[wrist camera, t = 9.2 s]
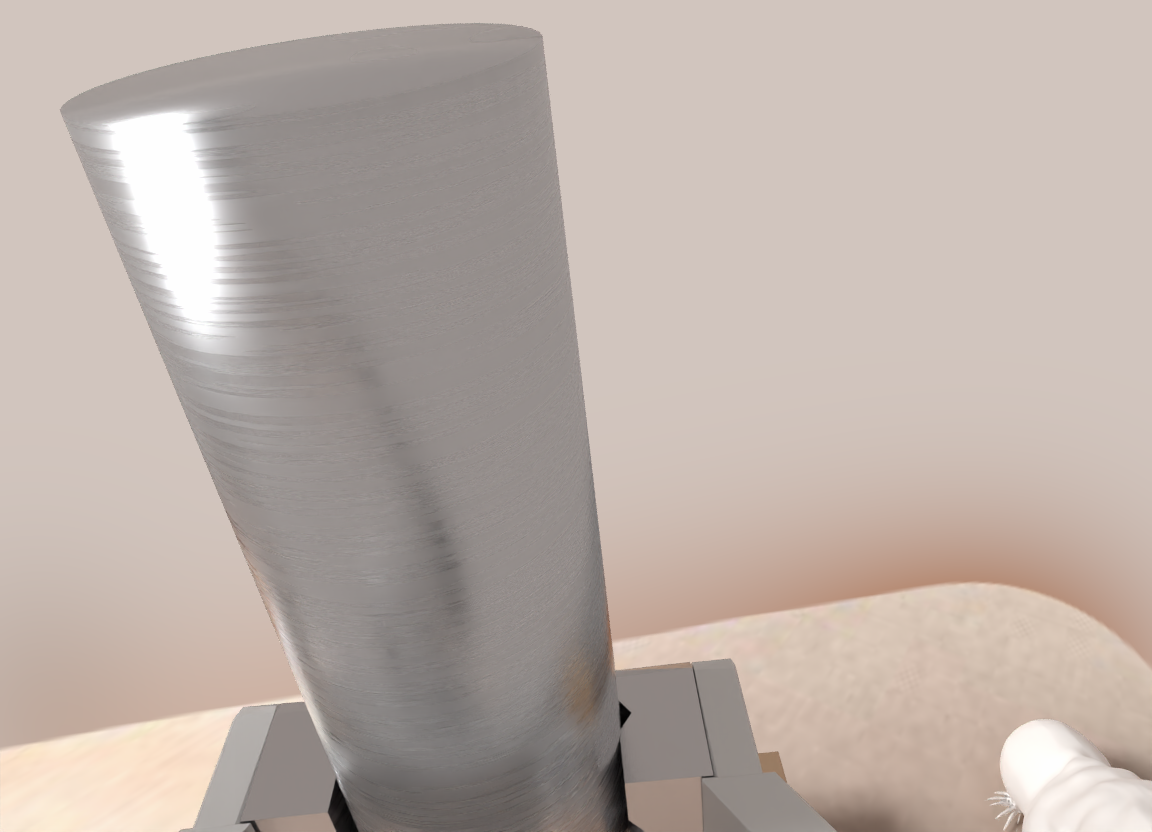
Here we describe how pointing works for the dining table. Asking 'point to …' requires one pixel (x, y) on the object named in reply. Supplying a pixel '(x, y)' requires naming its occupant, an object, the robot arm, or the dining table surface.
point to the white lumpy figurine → (1069, 784)
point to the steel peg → (387, 400)
